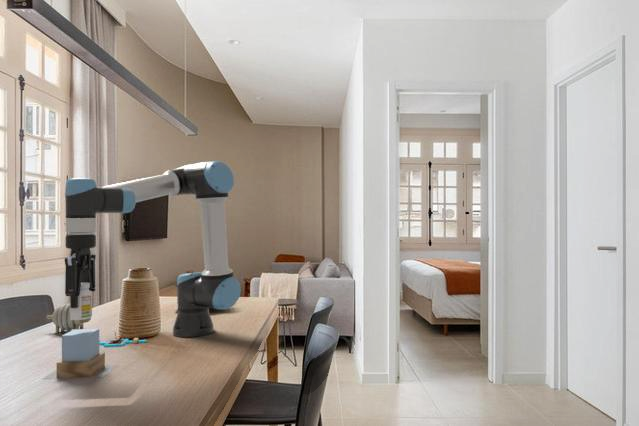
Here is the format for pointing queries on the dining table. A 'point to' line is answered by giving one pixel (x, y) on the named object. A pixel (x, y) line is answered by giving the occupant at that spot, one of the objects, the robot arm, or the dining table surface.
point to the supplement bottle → (86, 300)
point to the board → (100, 373)
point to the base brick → (81, 367)
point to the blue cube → (80, 345)
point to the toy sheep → (65, 319)
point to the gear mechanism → (120, 341)
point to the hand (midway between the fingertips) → (81, 317)
